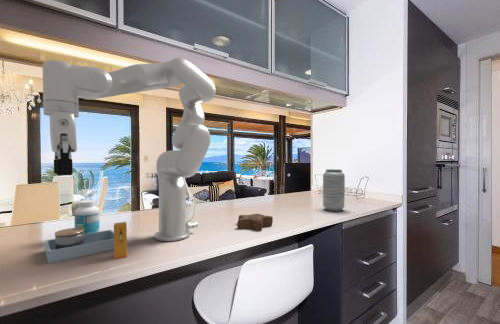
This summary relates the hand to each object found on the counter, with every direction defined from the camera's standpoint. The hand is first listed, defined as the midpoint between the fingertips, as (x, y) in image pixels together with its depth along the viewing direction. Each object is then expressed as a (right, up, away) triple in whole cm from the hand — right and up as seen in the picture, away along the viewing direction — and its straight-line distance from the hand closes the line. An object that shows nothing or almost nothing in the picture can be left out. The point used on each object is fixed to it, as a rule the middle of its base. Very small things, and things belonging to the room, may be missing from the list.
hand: (62, 174), depth 67 cm
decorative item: (+51, -25, +40) cm, 70 cm away
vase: (+98, -24, +76) cm, 126 cm away
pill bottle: (-8, -24, +22) cm, 34 cm away
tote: (-1, -24, +10) cm, 26 cm away
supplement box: (+13, -25, +5) cm, 28 cm away
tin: (-4, -24, +8) cm, 25 cm away
